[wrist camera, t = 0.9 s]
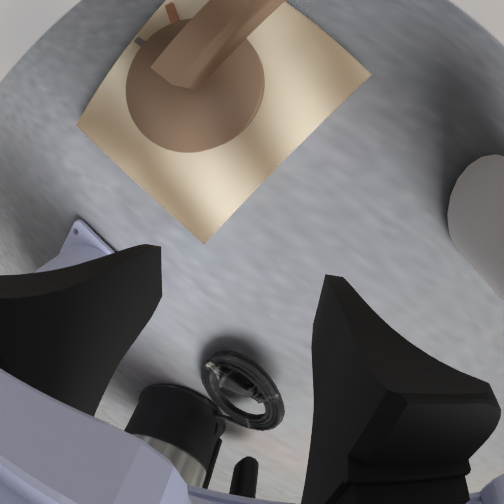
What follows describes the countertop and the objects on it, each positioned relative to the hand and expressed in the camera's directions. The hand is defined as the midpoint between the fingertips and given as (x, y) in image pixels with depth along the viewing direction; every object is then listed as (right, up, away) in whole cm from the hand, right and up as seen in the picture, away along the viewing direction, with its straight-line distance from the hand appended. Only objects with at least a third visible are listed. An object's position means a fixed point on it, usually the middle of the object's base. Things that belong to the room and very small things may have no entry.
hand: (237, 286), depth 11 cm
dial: (-2, +11, +4) cm, 12 cm away
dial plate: (-2, +11, +6) cm, 12 cm away
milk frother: (-4, -12, +17) cm, 21 cm away
